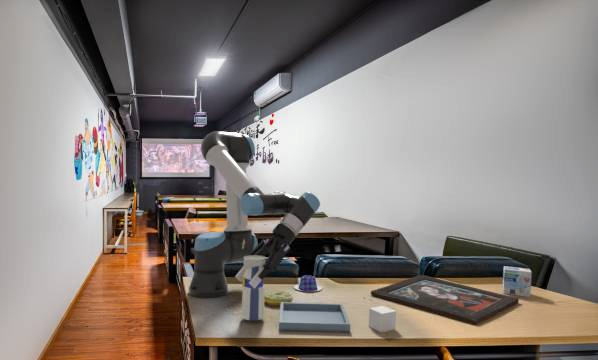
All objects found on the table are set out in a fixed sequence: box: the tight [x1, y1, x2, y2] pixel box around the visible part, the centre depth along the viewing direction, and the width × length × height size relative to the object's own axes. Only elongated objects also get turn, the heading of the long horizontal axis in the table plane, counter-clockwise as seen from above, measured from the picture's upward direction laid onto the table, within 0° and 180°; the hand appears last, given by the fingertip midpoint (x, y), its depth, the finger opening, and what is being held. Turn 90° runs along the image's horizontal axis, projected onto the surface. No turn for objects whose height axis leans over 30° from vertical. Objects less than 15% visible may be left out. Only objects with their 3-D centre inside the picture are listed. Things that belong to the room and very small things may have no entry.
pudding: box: [293, 275, 323, 293], centre depth 178 cm, size 12×12×5 cm
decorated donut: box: [264, 290, 294, 307], centre depth 158 cm, size 10×11×4 cm
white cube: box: [368, 305, 397, 333], centre depth 135 cm, size 6×6×6 cm
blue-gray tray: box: [278, 301, 351, 334], centre depth 140 cm, size 22×20×3 cm
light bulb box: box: [502, 265, 533, 298], centre depth 182 cm, size 11×7×11 cm, turn 68°
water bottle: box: [240, 241, 268, 321], centre depth 137 cm, size 8×9×25 cm
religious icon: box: [370, 274, 520, 326], centre depth 170 cm, size 40×45×3 cm
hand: (244, 282), depth 135 cm, fingers closed on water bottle, 8 cm apart
